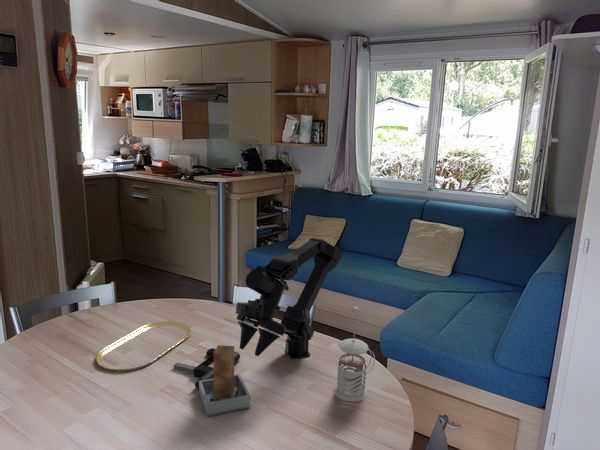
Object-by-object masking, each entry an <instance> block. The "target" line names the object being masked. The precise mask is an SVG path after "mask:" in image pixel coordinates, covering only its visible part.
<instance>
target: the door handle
mask: <svg viewBox="0 0 600 450" xmlns="http://www.w3.org/2000/svg"><path fill="white" fill-rule="evenodd" d="M215 349H216V348H209V349H208V350H207V351H206V357H208V358H206V359H205V360H203V361H202V362H201V363H199V364H198V365H197V366H195V365H194V366H193V365H190V364H185V363H181V362H175V363H174V364H173V370H176V371H179V372H183V373H185V374H190V375H193V377H194V378H197V381H195V382H194V386H195V389H196V390H198V391H199V381H201V380H207V379H213V378H214V366H213V367H212V366H211V364H214V351H215ZM240 359H241V354H240V353H239V351H234V365H235V364H236V363H238V362H240Z"/></svg>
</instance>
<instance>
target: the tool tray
mask: <svg viewBox="0 0 600 450" xmlns="http://www.w3.org/2000/svg"><path fill="white" fill-rule="evenodd" d="M234 387H237V388H238V393H237V396H236V397H234V398H229V399H224V400H219V401H213V402H210V398H211V396H212V393H213V391H214V378H213V379H207V380H201V381H199V390H198V394H199V397H200V401H201V404H202V406H203V407H202V408H203V409H204V413H205V416H206V417H207V418H208V417H213V416H214V417H215V416H219V415H224V414H229V413H234V412H239V411H243V410H249V409H251V394H250V392H249V389H247V387H246V384H245V383H244V381H243V379H242V375H240V373H238V374H237V373H236V374H234Z"/></svg>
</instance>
